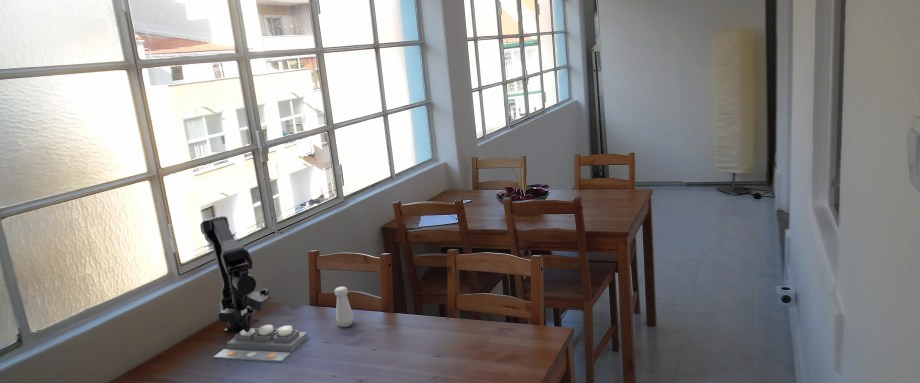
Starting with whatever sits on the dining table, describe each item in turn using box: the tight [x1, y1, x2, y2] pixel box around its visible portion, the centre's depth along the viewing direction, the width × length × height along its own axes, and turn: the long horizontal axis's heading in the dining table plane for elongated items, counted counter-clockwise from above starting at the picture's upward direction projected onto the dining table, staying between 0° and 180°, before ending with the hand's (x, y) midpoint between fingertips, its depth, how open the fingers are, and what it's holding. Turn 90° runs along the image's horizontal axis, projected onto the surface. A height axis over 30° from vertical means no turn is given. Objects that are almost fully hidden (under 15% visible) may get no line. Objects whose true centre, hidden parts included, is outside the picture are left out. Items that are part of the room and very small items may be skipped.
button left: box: [241, 329, 255, 336], centre depth 222 cm, size 4×4×2 cm
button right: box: [277, 325, 294, 337], centre depth 217 cm, size 4×4×2 cm
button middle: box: [258, 324, 274, 336], centre depth 219 cm, size 4×4×2 cm
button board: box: [226, 327, 309, 353], centre depth 220 cm, size 23×10×4 cm, turn 73°
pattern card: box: [213, 348, 292, 363], centre depth 212 cm, size 24×5×1 cm, turn 73°
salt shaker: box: [334, 286, 355, 328], centre depth 228 cm, size 6×6×13 cm
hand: (247, 331), depth 222 cm, fingers closed, pressing on button left
